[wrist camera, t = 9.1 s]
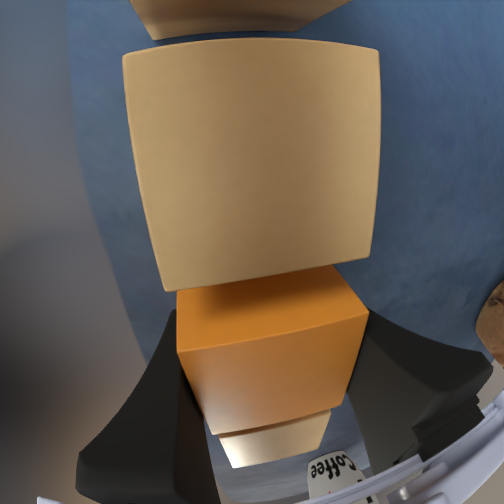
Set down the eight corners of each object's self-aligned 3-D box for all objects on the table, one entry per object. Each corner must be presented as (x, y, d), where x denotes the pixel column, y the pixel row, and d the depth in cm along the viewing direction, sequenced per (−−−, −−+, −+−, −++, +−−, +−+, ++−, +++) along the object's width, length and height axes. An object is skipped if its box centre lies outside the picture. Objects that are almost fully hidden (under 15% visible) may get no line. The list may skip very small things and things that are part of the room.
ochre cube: (305, 231, 11) (370, 311, 7) (301, 323, 14) (341, 405, 9) (178, 250, 11) (176, 351, 6) (200, 342, 13) (212, 435, 9)
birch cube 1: (298, 337, 15) (332, 412, 11) (294, 386, 18) (318, 448, 13) (206, 354, 14) (218, 438, 10) (220, 401, 17) (232, 468, 13)
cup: (360, 438, 28) (389, 500, 19) (346, 458, 32) (368, 510, 23) (299, 458, 27) (323, 527, 18) (294, 474, 31) (313, 530, 22)
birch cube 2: (298, 68, 9) (380, 49, 4) (302, 195, 11) (370, 258, 7) (155, 79, 8) (120, 54, 4) (173, 212, 10) (164, 294, 6)
